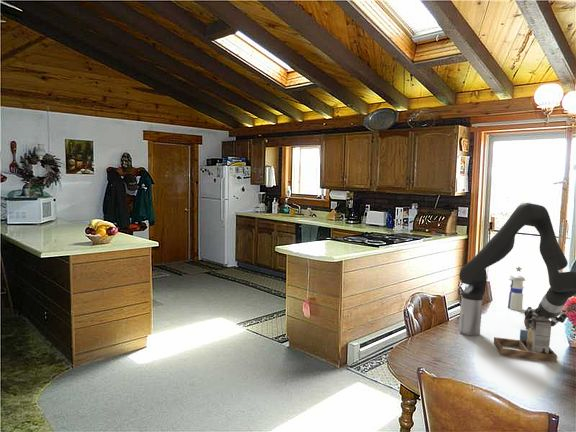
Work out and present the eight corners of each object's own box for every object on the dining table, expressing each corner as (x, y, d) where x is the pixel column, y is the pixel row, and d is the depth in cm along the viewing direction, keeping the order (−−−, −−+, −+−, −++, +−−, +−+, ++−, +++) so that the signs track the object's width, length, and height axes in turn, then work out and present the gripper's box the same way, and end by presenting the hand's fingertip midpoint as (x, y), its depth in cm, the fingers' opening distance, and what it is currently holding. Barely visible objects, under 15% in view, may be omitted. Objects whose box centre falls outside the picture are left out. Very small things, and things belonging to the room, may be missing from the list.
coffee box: (524, 348, 185) (528, 313, 183) (540, 350, 183) (544, 315, 182) (532, 357, 176) (535, 320, 175) (549, 359, 174) (552, 321, 173)
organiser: (500, 355, 177) (502, 337, 177) (493, 343, 191) (494, 326, 190) (556, 362, 172) (558, 343, 171) (545, 349, 185) (546, 332, 185)
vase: (533, 332, 208) (535, 314, 208) (520, 327, 215) (522, 310, 214) (542, 330, 212) (543, 313, 211) (528, 325, 218) (530, 309, 217)
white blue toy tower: (504, 306, 253) (507, 265, 251) (519, 307, 252) (522, 266, 250) (509, 310, 245) (512, 268, 243) (525, 311, 244) (528, 269, 242)
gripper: (570, 297, 166) (557, 317, 178) (530, 294, 170) (520, 313, 182) (574, 314, 161) (560, 333, 173) (533, 310, 165) (522, 329, 177)
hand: (540, 323), depth 178 cm, fingers open, 8 cm apart
